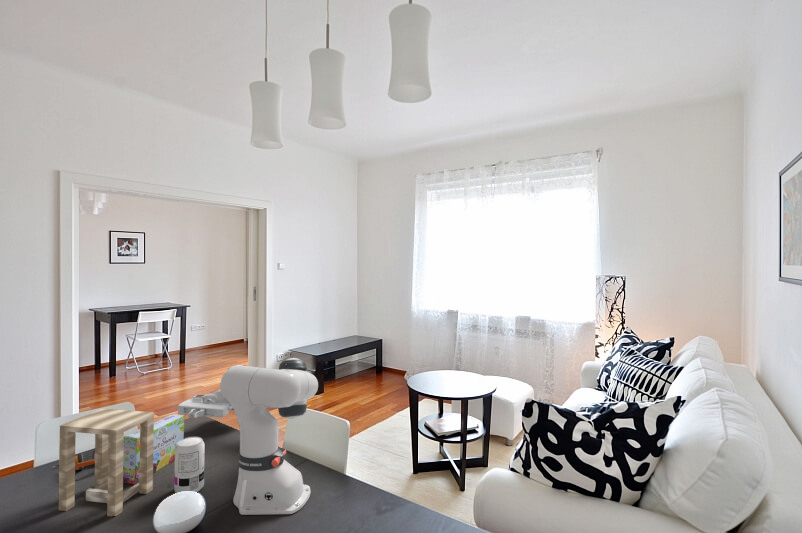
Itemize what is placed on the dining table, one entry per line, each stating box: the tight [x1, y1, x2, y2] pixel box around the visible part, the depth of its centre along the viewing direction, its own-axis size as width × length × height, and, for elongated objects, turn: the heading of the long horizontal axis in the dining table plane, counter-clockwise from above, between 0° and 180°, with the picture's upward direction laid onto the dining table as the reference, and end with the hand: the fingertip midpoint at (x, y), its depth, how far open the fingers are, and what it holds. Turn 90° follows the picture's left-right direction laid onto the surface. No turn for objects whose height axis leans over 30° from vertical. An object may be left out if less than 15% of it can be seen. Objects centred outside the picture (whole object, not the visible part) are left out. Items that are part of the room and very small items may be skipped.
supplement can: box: [173, 436, 206, 494], centre depth 128 cm, size 8×8×15 cm
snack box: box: [123, 413, 185, 486], centre depth 140 cm, size 21×6×15 cm, turn 168°
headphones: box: [51, 449, 95, 471], centre depth 142 cm, size 17×5×20 cm
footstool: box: [58, 408, 155, 517], centre depth 122 cm, size 18×15×24 cm
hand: (191, 415), depth 160 cm, fingers closed
